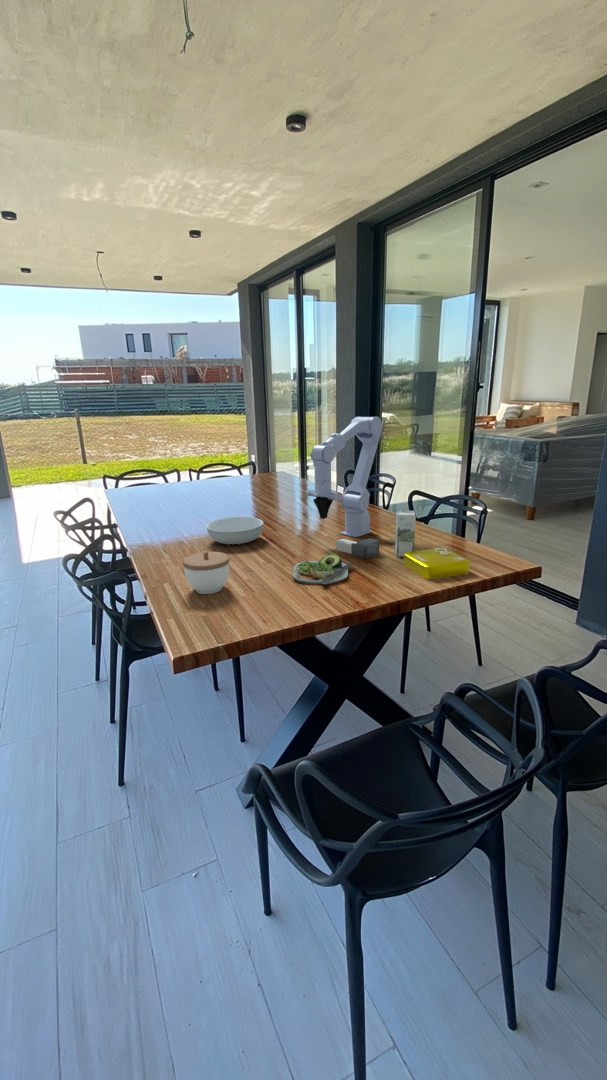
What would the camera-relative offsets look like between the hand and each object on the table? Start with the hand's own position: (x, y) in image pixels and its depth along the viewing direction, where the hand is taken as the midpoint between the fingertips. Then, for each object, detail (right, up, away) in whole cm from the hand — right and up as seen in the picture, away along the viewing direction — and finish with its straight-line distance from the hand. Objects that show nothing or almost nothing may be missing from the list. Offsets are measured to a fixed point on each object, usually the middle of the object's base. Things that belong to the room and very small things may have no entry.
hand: (323, 518), depth 174 cm
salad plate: (-2, -18, -27) cm, 33 cm away
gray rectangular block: (+10, -12, -8) cm, 17 cm away
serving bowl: (-32, -8, +9) cm, 34 cm away
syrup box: (+26, -13, -12) cm, 32 cm away
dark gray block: (+13, -12, -11) cm, 21 cm away
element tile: (+33, -17, -26) cm, 45 cm away
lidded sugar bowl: (-34, -22, -36) cm, 54 cm away
